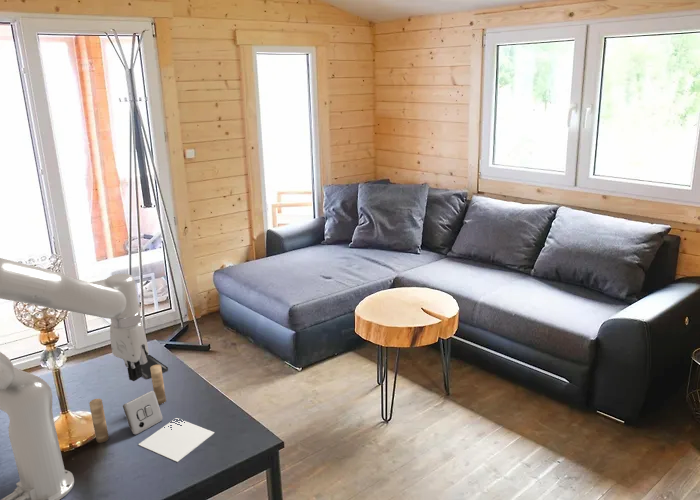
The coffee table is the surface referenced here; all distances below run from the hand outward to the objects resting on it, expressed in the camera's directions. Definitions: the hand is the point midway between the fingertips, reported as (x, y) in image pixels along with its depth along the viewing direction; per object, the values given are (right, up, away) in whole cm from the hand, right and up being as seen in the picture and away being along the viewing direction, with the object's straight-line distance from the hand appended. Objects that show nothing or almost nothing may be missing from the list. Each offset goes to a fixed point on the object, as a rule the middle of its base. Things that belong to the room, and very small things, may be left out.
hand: (135, 378), depth 160 cm
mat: (+12, -16, -2) cm, 21 cm away
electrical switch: (0, -15, +5) cm, 16 cm away
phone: (-9, -5, +37) cm, 38 cm away
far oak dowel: (+2, -11, +16) cm, 19 cm away
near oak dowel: (-9, -17, -1) cm, 19 cm away
